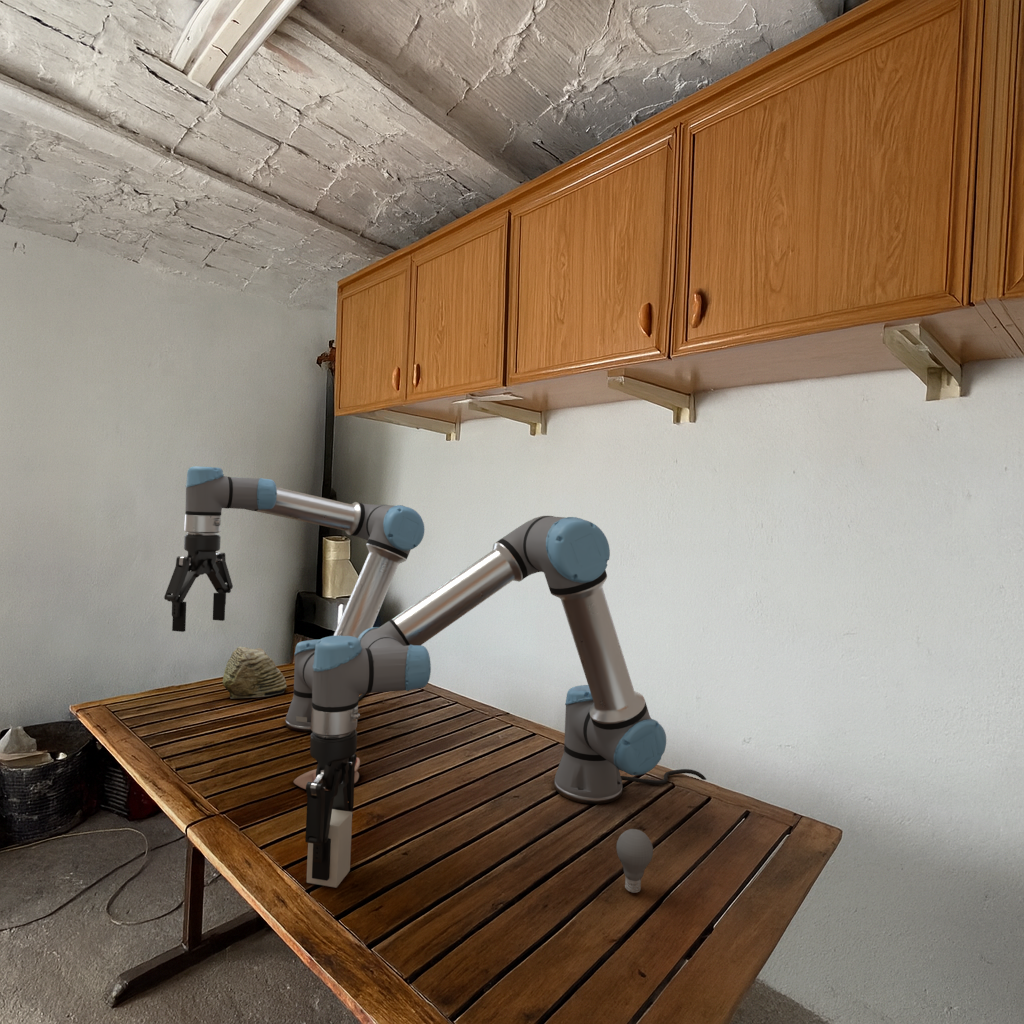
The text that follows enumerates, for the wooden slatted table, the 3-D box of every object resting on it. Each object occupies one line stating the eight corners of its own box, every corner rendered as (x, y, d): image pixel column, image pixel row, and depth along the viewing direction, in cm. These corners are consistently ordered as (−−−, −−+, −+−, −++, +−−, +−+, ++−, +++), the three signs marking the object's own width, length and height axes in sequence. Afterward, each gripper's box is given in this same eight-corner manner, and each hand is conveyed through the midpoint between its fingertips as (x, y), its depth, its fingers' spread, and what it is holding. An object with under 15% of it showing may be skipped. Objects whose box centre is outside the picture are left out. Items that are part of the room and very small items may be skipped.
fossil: (218, 695, 195) (220, 647, 195) (278, 685, 208) (279, 640, 207) (228, 703, 189) (230, 653, 188) (289, 692, 201) (290, 645, 201)
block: (306, 882, 104) (308, 821, 104) (321, 865, 109) (323, 807, 109) (336, 887, 103) (338, 826, 103) (350, 870, 108) (352, 811, 108)
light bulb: (610, 879, 108) (613, 822, 108) (644, 879, 109) (647, 822, 109) (619, 902, 102) (622, 840, 102) (655, 901, 103) (658, 840, 103)
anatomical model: (286, 769, 137) (313, 749, 148) (285, 787, 137) (312, 766, 148) (343, 777, 134) (366, 756, 145) (342, 796, 134) (365, 773, 145)
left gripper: (178, 537, 133) (175, 637, 133) (249, 532, 157) (246, 617, 158) (147, 535, 134) (144, 634, 135) (222, 530, 159) (219, 614, 159)
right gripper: (329, 754, 96) (323, 905, 97) (377, 715, 114) (371, 843, 114) (284, 748, 98) (278, 897, 98) (338, 710, 115) (333, 837, 116)
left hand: (199, 625), depth 146 cm, fingers open, 13 cm apart
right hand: (328, 867), depth 106 cm, fingers closed on block, 5 cm apart
